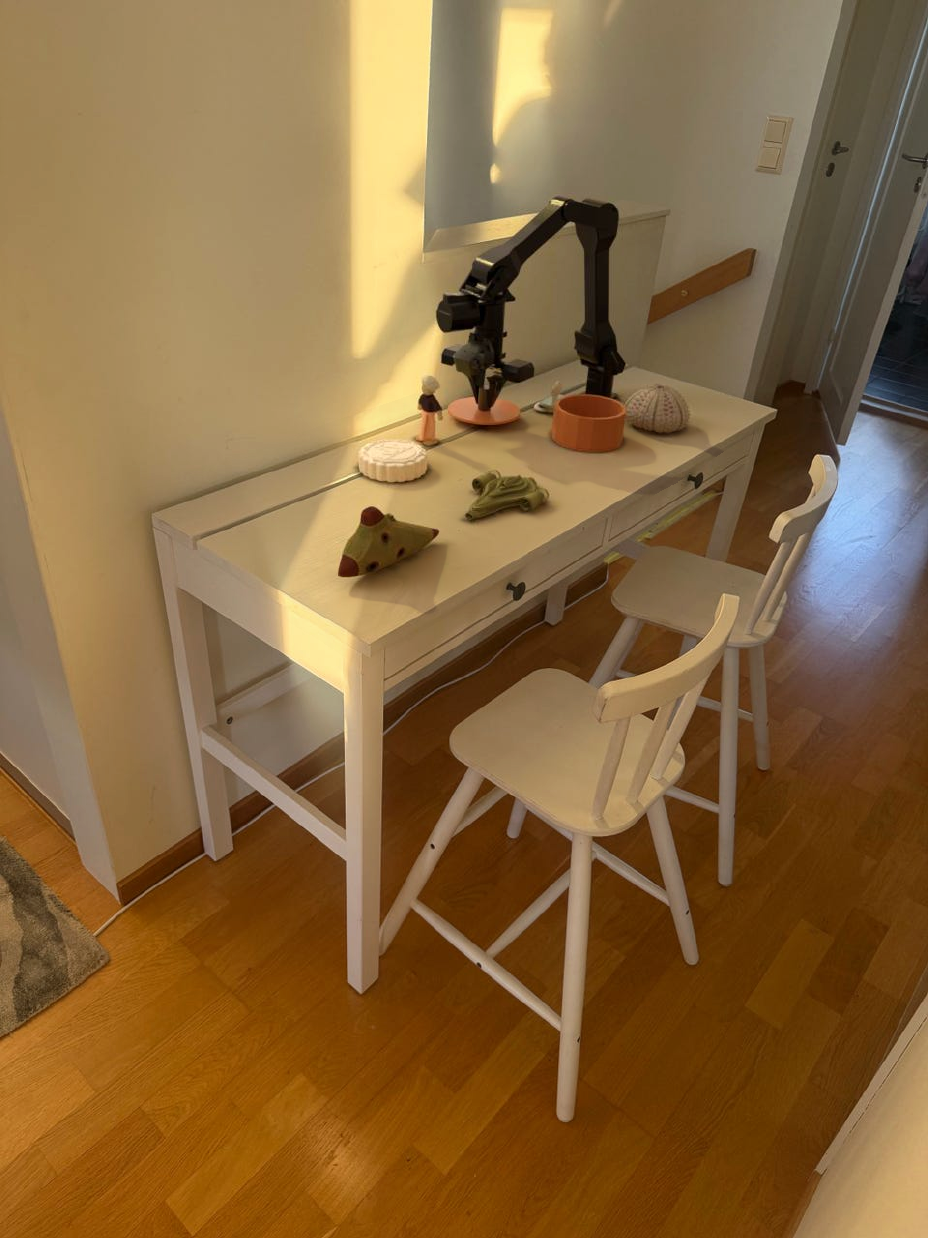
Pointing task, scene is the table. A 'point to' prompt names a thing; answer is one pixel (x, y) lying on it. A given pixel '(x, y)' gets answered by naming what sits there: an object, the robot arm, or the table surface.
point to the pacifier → (550, 399)
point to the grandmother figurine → (428, 410)
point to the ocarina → (381, 543)
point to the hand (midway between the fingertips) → (484, 405)
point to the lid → (483, 409)
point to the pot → (588, 422)
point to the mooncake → (392, 460)
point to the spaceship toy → (504, 494)
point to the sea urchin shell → (657, 409)
